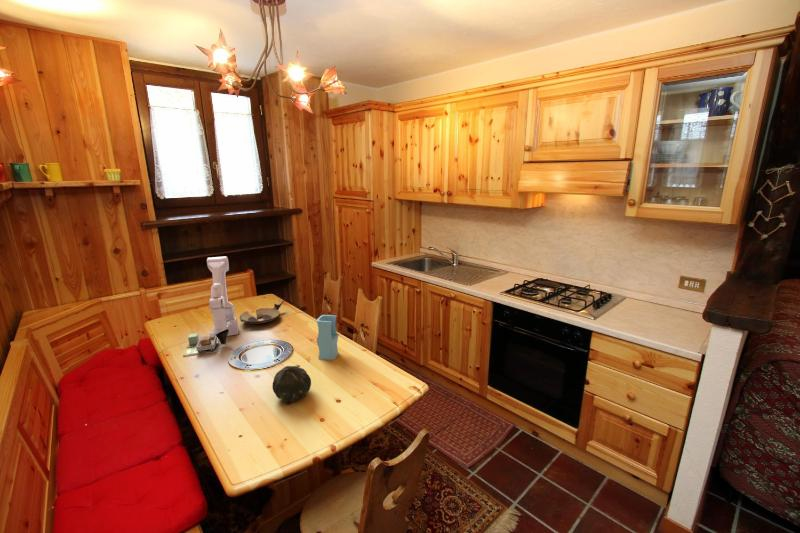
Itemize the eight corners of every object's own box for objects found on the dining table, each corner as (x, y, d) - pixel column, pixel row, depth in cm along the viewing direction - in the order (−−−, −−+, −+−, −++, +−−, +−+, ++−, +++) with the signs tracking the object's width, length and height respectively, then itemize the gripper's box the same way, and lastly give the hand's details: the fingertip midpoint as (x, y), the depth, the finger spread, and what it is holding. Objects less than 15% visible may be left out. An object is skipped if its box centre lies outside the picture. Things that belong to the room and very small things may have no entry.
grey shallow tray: (217, 341, 195) (216, 335, 194) (214, 350, 185) (213, 344, 184) (201, 344, 192) (199, 337, 191) (197, 353, 182) (196, 347, 181)
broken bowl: (234, 321, 222) (232, 309, 220) (281, 308, 241) (280, 298, 239) (246, 333, 206) (244, 321, 204) (296, 318, 224) (295, 307, 222)
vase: (333, 360, 175) (330, 322, 170) (318, 359, 177) (315, 321, 172) (339, 352, 183) (336, 315, 177) (324, 351, 184) (321, 314, 179)
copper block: (211, 343, 188) (210, 335, 187) (210, 347, 185) (208, 339, 183) (202, 345, 187) (201, 337, 186) (201, 348, 183) (200, 340, 182)
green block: (199, 340, 198) (197, 333, 197) (197, 344, 194) (196, 336, 193) (190, 341, 197) (189, 334, 195) (189, 345, 193) (188, 337, 192)
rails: (218, 342, 195) (218, 342, 195) (216, 351, 186) (216, 350, 186) (187, 347, 190) (187, 347, 190) (183, 356, 181) (183, 356, 181)
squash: (301, 367, 159) (279, 354, 148) (323, 381, 150) (301, 367, 139) (281, 398, 154) (257, 386, 143) (303, 413, 145) (279, 402, 134)
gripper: (222, 313, 195) (226, 336, 198) (202, 325, 181) (207, 349, 185) (233, 314, 193) (237, 337, 197) (214, 326, 180) (219, 350, 183)
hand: (223, 343), depth 191 cm, fingers closed
